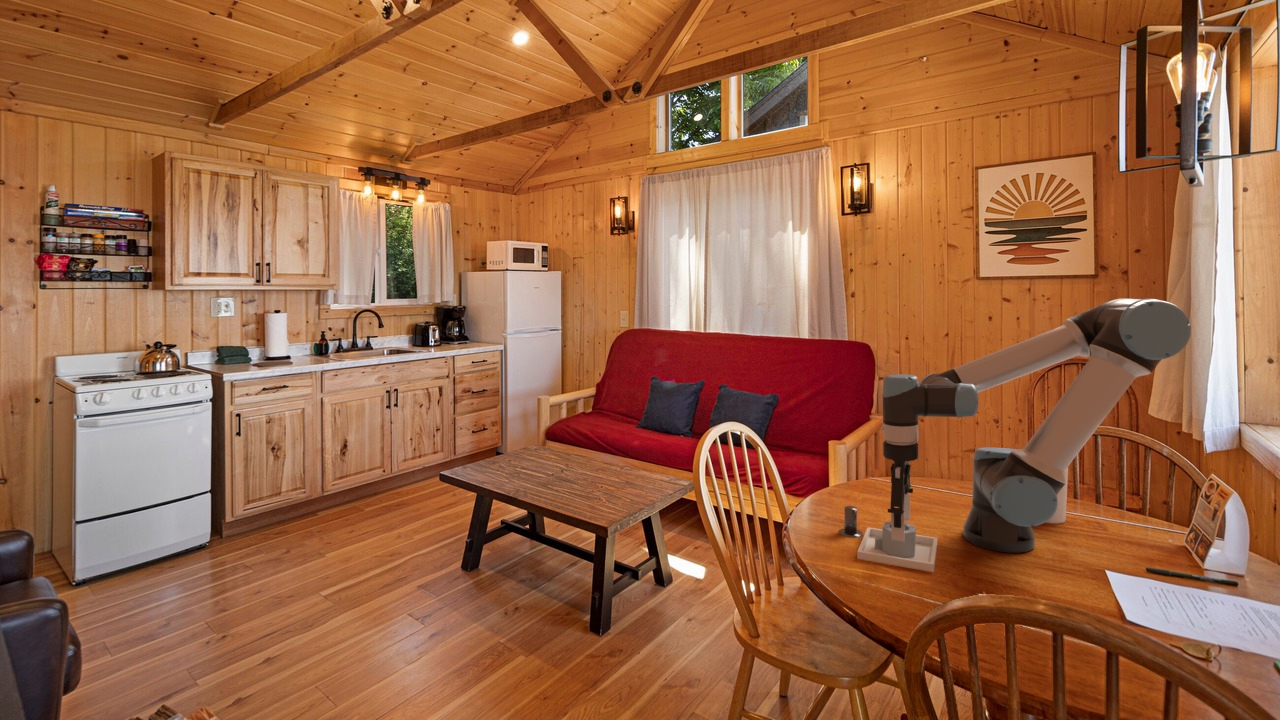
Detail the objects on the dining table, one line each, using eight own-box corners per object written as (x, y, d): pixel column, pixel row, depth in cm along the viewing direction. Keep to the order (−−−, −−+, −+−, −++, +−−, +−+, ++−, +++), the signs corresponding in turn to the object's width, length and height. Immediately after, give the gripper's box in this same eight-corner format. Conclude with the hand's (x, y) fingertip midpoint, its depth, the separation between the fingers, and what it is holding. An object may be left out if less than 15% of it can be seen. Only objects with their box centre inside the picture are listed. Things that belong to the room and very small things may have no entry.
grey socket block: (916, 548, 145) (916, 524, 144) (913, 560, 139) (914, 534, 138) (877, 542, 149) (877, 518, 148) (873, 553, 143) (873, 528, 142)
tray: (937, 546, 147) (937, 537, 147) (933, 574, 133) (933, 564, 133) (867, 535, 154) (867, 527, 154) (857, 560, 140) (857, 551, 140)
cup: (1071, 524, 158) (1074, 464, 156) (1036, 522, 159) (1039, 463, 158) (1056, 512, 166) (1059, 456, 164) (1023, 511, 167) (1025, 455, 166)
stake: (864, 532, 157) (865, 505, 156) (860, 540, 151) (861, 513, 151) (840, 528, 160) (840, 502, 159) (836, 536, 154) (836, 510, 154)
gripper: (889, 428, 153) (890, 509, 155) (875, 453, 132) (876, 547, 134) (922, 430, 150) (922, 513, 152) (913, 456, 128) (914, 552, 130)
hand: (901, 529), depth 143 cm, fingers open, 13 cm apart
